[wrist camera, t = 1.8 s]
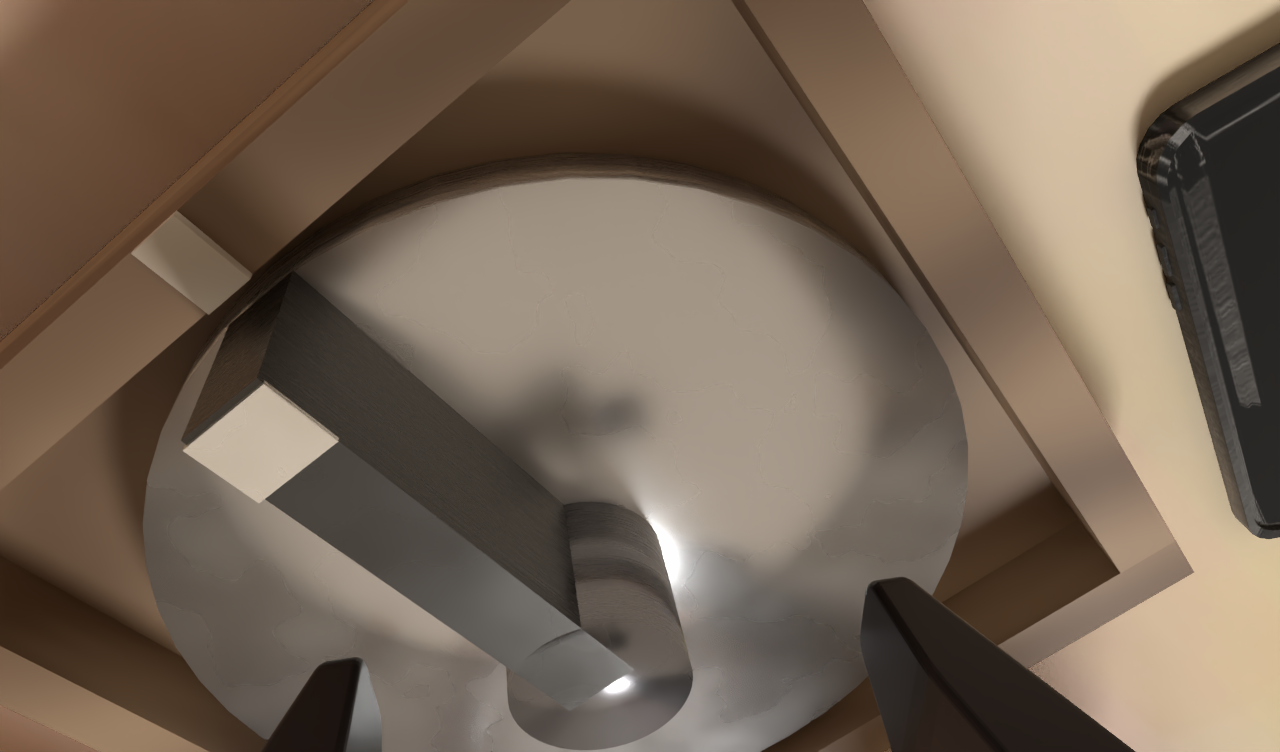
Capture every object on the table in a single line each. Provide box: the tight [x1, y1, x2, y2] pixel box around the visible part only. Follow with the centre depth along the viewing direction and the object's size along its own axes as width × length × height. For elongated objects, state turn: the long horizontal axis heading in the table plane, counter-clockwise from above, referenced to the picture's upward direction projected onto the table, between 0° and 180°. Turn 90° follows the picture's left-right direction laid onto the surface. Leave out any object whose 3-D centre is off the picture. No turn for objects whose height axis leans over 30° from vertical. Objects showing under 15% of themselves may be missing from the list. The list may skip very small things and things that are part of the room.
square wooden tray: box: [0, 0, 1194, 752], centre depth 22 cm, size 22×22×4 cm
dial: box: [143, 153, 968, 752], centre depth 20 cm, size 18×18×5 cm
